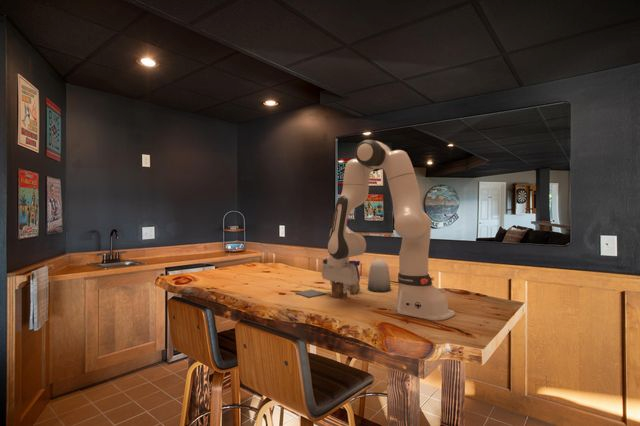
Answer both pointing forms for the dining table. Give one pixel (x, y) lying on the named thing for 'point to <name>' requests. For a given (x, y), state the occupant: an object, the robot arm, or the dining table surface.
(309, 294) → the pad
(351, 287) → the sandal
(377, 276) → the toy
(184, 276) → the dining table surface
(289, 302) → the dining table surface
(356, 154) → the robot arm
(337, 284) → the walnut block
